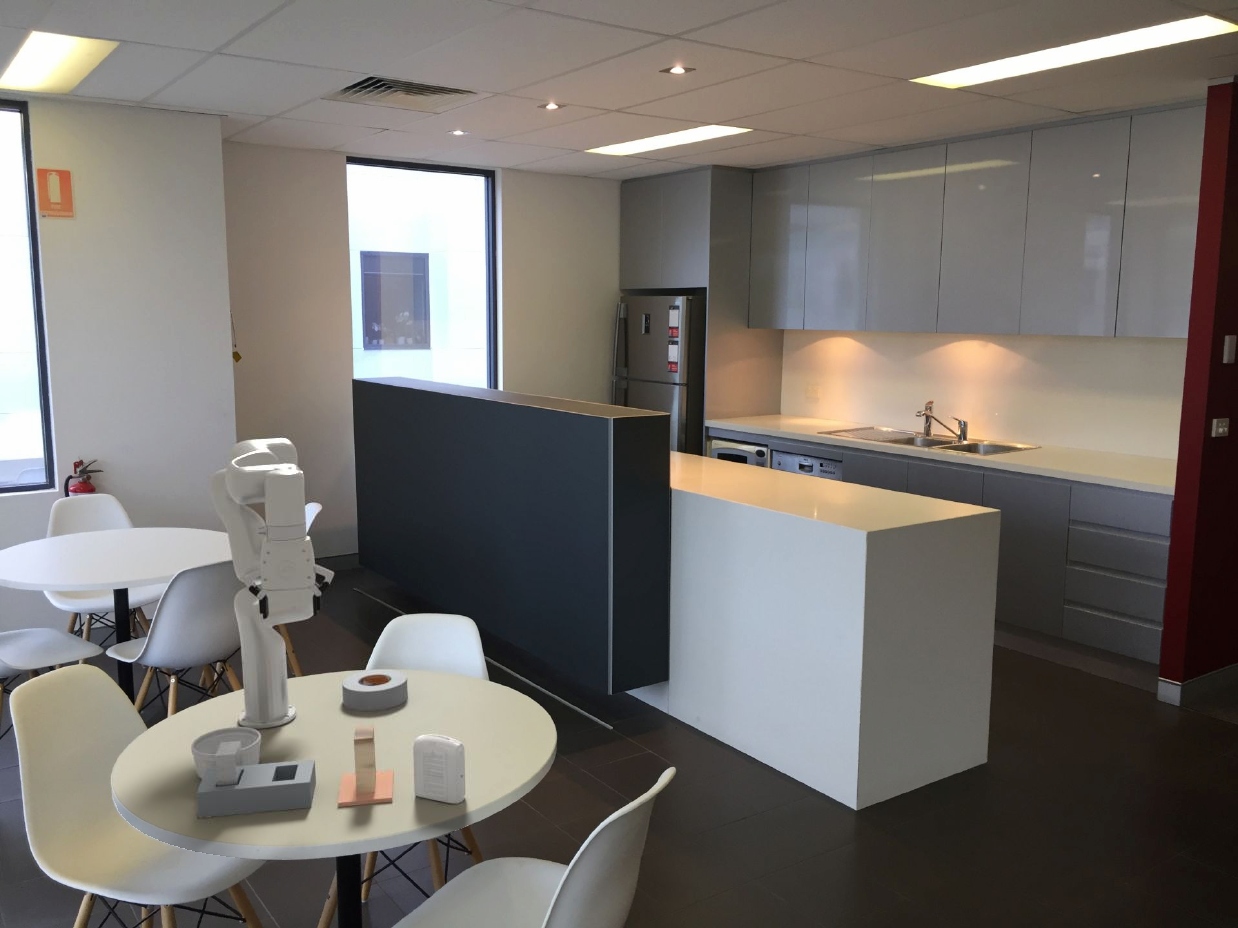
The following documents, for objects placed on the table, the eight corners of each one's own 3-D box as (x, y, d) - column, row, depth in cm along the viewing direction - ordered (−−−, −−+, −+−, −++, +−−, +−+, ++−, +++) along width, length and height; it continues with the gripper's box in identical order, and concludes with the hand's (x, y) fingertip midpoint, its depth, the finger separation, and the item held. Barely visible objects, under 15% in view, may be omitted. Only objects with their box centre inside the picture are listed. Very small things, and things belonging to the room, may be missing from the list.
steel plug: (224, 796, 192) (221, 742, 190) (244, 794, 192) (240, 740, 191) (219, 811, 186) (215, 755, 184) (238, 809, 187) (235, 753, 185)
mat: (342, 778, 199) (342, 774, 199) (393, 773, 201) (393, 769, 201) (338, 806, 187) (337, 802, 187) (392, 801, 189) (392, 797, 189)
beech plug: (357, 779, 197) (355, 726, 195) (376, 777, 197) (373, 725, 196) (356, 793, 191) (353, 739, 189) (375, 791, 191) (372, 737, 190)
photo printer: (469, 796, 191) (467, 735, 189) (457, 806, 187) (455, 744, 185) (423, 787, 195) (421, 727, 193) (411, 797, 191) (408, 736, 189)
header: (209, 792, 193) (207, 768, 192) (316, 782, 197) (314, 759, 196) (198, 818, 183) (196, 792, 183) (311, 806, 187) (309, 781, 187)
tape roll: (343, 691, 246) (342, 671, 245) (406, 685, 250) (406, 666, 249) (342, 714, 231) (341, 694, 231) (409, 708, 235) (408, 687, 234)
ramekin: (234, 791, 194) (232, 757, 193) (178, 782, 198) (176, 749, 197) (276, 762, 206) (274, 730, 205) (222, 754, 210) (220, 723, 209)
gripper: (237, 538, 191) (242, 623, 194) (330, 533, 195) (334, 618, 197) (243, 530, 199) (248, 612, 201) (333, 526, 202) (337, 607, 205)
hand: (291, 615), depth 199 cm, fingers open, 9 cm apart
